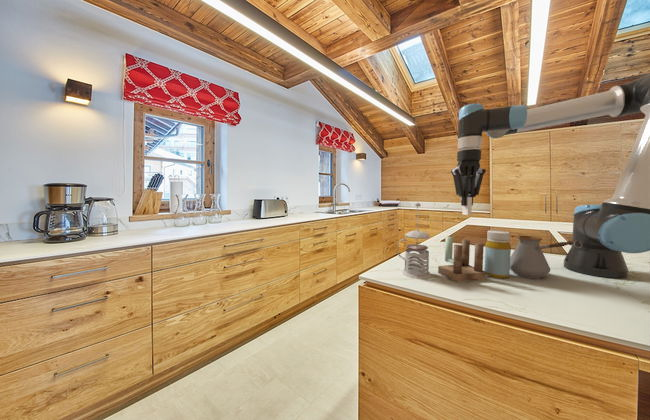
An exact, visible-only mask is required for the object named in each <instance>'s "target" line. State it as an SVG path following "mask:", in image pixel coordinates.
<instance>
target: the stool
mask: <svg viewBox="0 0 650 420" xmlns="http://www.w3.org/2000/svg"><path fill="white" fill-rule="evenodd" d="M470 246H471V240H469V239H462V240H461V244H454V245H453V259H454V263H453V264H445V265H438V267H437V269H438V271H437V273H438V274H440V275H442V276H444V277H445V278H447V279H448V280H451V281H452V282H454V283H465V282H475V281H481V280H482V281H484V280H487V275H486V272H485V271H484V268H483V267H484V250H485V245H484V243H481V242H480V243H479V242H476V243H474V260H473V261H474V262H473V264H474V265H470V253H471V252H470V249H471V247H470Z"/></svg>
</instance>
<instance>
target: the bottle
mask: <svg viewBox="0 0 650 420" xmlns="http://www.w3.org/2000/svg"><path fill="white" fill-rule="evenodd" d="M486 234H487V235H486V237H487V239H486V243H485V245H484V263H483V267H484V268H483V271H485V272H486V276H488V277H490V278H495V279H507V278H509V277H510V271H511V270H510V257H511V255H512V252H511V251H512V250H511V249H512V246H511V243H510V241H511V240H510V238H511V233H510V231H507V230H506V231H505V230H496V229H491V230H490V229H489V230H487V233H486Z"/></svg>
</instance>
